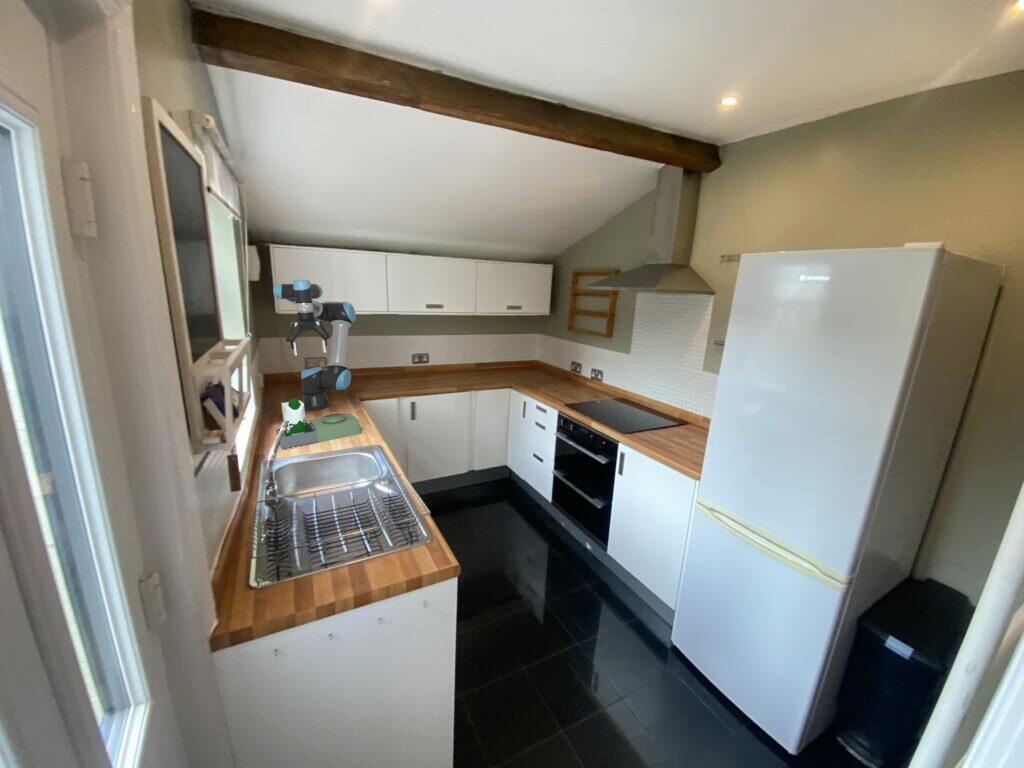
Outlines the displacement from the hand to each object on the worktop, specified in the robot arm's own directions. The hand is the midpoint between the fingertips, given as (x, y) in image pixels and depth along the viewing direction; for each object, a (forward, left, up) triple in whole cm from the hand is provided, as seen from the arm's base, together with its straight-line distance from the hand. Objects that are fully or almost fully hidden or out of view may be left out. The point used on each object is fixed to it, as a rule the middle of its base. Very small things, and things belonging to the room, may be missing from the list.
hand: (310, 353), depth 206 cm
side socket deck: (+5, +25, -37) cm, 44 cm away
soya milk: (+14, +25, -36) cm, 46 cm away
